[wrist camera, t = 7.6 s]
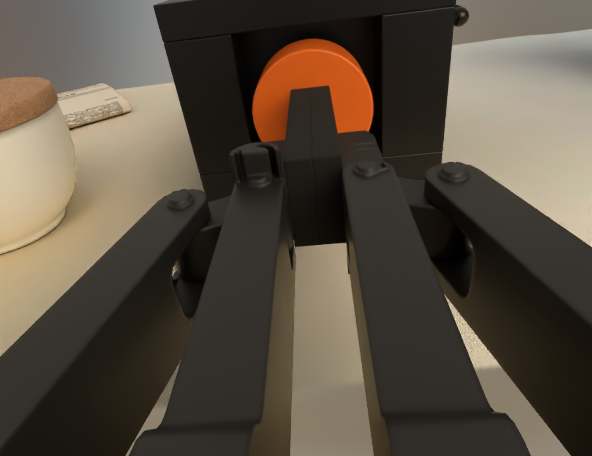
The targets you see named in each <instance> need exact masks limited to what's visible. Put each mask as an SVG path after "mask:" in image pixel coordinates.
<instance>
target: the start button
mask: <svg viewBox="0 0 592 456" xmlns="http://www.w3.org/2000/svg"><path fill="white" fill-rule="evenodd" d="M327 85H329V87H330V92H331V98H332V104H333V109H334V115H335V121H336V126H337V132H338V133H344V132H354V131H363V130H366V131H369V129H370V126H371V123H372V118H373V108H374V106H373V97H372V92H371V89H370V86H369V84H368V82H367V79H366V77H365V75H364V73H363V71H362V69H361V67H360V65H359V64H358V62H357V61H356V59H355V58H354V57H353V56H352V55H351V54H350V53H349V52H348V51H347V50H345V49H344V48H343V47H341V46H339V45H338V44H336V43H333V42H331V41H327V40H323V39H304V40H299V41H296V42H293V43H291V44H289V45H287V46H285V47H283V48H282V49H281V50H279V51H278V52H277V53H276V54H275V55H274V56H273V57H272V58H271V59H270V60H269V62H268V63H267V65H266V66H265V68H264V70H263V72H262V74H261V77H260V80H259V82H258V85H257V87H256V90H255V94H254V98H253V104H252V114H253V121H254V125H255V129H256V131H257V134H258V136H259V137H260V139H261V141H262V142H269V141H279V140H285V136H286V127H287V118H288V109H289V100H290V91H291V90H293V89H301V88H310V87H319V86H327Z"/></svg>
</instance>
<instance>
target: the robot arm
mask: <svg viewBox="0 0 592 456" xmlns="http://www.w3.org/2000/svg"><path fill="white" fill-rule="evenodd" d="M229 159H230V164H231V168H232V172H233V177H234V181H235V185H234V188H233V192H232V195H230V196H228V197H225V198H222V199H218V200H214V201H211V202H208V201H207V198H206V195H205V193H204V192H202V191H200V190H194V189H190V190H186V189H183V190H179V191H174V192H172V193H171V194H169V195H167V196H165V197H163V198H162V199H161V200H159V201H158V202H157V203H156V204H155V205H154V206H153V207H152V208H151V209H150V210H149V211H148V212H147V213H146V214H145V215H144V216H143V217H142V218H141V219H140V220H139V221H138V222H137V223H136V224H135V225H134V226H133V227H132V228H131V229H130V230H129V231H128V232H127V233H126V234H124V235H123V236H122V237H121V238H120V239H119V240H118V241H117V242H116V243H115V244H114V245H113V246H112V247H111V248H110V249H109V250H108V251H107V252H106V253H105V254H104V255H103V256H102V257H101V258H100V259H99V260H98V261H97V262H96V263H95V264H94V265H93V266H92V267H91V268H90V269H89V270H88V271H87V272H86V273H85V274H84V275H83V276H82V277H81V278H80V279H79V280H78V281H77V282H76V283H75V284H74V285H73V286H72V287H71V288H70V289H69V290H68V291H67V292H66V293H65V294H64V295H63V296H62V297H61V298H59V299H58V300H57V301H56V302H55V303H54V304H53V305H52V306H51V307H50V308H49V309H48V310H47V311H46V312H45V313H44V314H43V315H42V316H41V317H40V318H39V319H38V320H37V321H36V322H35V323H34V324H33V325H32V326H31V327H30V328H29V329H28V330H27V331H26V332H25V333H24V334H23V335H22V336H21V337H20V338H19V339H18V340H17V341H16V342H15V343H14V344H13V345H12V346H11V347H10V348H9V349H8V350H7V351H6V352H5V353H4V354H3V355H2V356H1V357H0V456H125V455H126V454H127V452H128V450H129V448H130V447H131V445H132V443H133V442H134V440H135V438H136V436H137V435H138V433H139V431H140V429H141V428H142V426H143V424H144V422H145V421H146V419H147V417H148V416H149V414H150V412H151V411H152V409H153V407H154V405H155V404H156V402H157V400H158V399H159V397H160V395H161V393H162V392H163V390H164V388H165V386H166V385H167V383H168V381H169V380H170V378H171V376H172V374H173V373H174V371H175V369H176V368H177V366H178V364H179V362H180V361H181V363H180V366H179V370H178V373H177V376H176V379H175V383H174V386H173V389H172V393H171V396H170V399H169V403H168V406H167V409H166V413H165V415H164V418H163V420H162V423H161V424H160V425H159V427H158V428H156V429H152V430H146V431H144V432H143V433H142V434H141V435H140V436H139V438H138V439H137V440H136V441H135V444H134V446H133V448H132V450H131V452H130V454H129V456H290V434H291V433H290V432H291V431H290V430H291V399H292V366H293V332H294V298H295V264H296V256H295V249H294V241H295V247H299V246H311V245H323V244H335V243H346V244H347V261H348V274H350V279H351V286H352V294H353V302H354V309H355V317H356V324H357V332H358V339H359V347H360V354H361V362H362V369H363V377H364V384H365V392H366V399H367V407H368V414H369V422H370V429H371V436H372V445H373V452H374V456H531V455H530V453H529V451H528V448H527V447H526V444H525V442H524V440H523V438H522V436H521V434H520V432H519V430H518V429H517V427H516V425H515V423H514V422H513V421H512V420H511V419H510V418H509V416H508V415H507V414H506V413H499V412H494V410H493V409H492V408H491V407H490V405H489V403H488V401H487V399H486V397H485V394H484V392H483V390H482V387H481V385H480V382H479V379H478V377H477V375H476V372H475V369H474V367H473V364H472V362H471V359H470V357H469V354H468V352H467V350H466V347H465V345H464V342H463V340H462V337H461V335H460V332H459V330H458V327H457V325H456V322H455V320H454V317H453V315H452V312H451V310H450V307H449V305H448V302H447V300H446V297H447V298H448V299H449V301H450V302H451V303H452V304H453V306H454V307H455V308H456V309H457V311H458V312H459V313H460V315H461V316H462V317H463V318H464V320H465V321H466V322H467V324H468V325H469V326H470V327H471V329H472V330H473V331H474V332H475V334H476V335H477V336H478V338H479V339H480V340H481V341H482V343H483V344H484V345H485V346H486V348H487V349H488V350H489V352H490V353H491V354H492V355H493V357H494V358H495V359H496V361H497V362H498V363H499V364H500V366H501V367H502V368H503V369H504V371H505V372H506V373H507V375H508V376H509V377H510V378H511V380H512V381H513V382H514V383H515V385H516V386H517V387H518V388H519V390H520V391H521V392H522V394H523V395H524V396H525V398H526V399H527V400H528V401H529V403H530V404H531V405H532V406H533V408H534V409H535V410H536V412H537V413H538V414H539V415H540V417H541V418H542V419H543V420H544V422H545V423H546V424H547V425H548V427H549V428H550V429H551V431H552V432H553V433H554V435H555V436H556V437H557V438H558V440H559V441H560V442H561V443H562V445H563V446H564V447H565V449H566V450H567V451H568V452H569V454H570V455H571V456H592V247H591V246H589V245H588V244H586V243H585V242H583V241H582V240H581V239H579V238H578V237H576V236H575V235H573V234H572V233H570V232H569V231H568V230H566V229H565V228H563V227H562V226H560V225H559V224H557V223H556V222H554V221H553V220H552V219H550V218H549V217H547V216H546V215H544V214H543V213H541V212H540V211H539V210H537V209H536V208H534V207H533V206H531V205H530V204H528V203H527V202H526V201H524V200H523V199H521V198H520V197H518V196H517V195H515V194H514V193H513V192H511V191H510V190H508V189H507V188H505V187H504V186H502V185H501V184H499V183H498V182H497V181H495V180H494V179H492V178H491V177H489V176H488V175H486V174H485V173H484V172H482V171H481V170H479V169H477V168H475V167H473V166H471V165H466V164H463V163H460V162H455V163H454V162H448V163H444V164H438V165H435V166H432V167H431V168H429V169H428V170H427V171H426V174H425V180H414V179H405V178H401V177H398V176H397V175H396V173H395V170H394V168H393V167H392V166H391V165H390V164H389V163H387V162H385V161H384V160H383V158H382V155H381V152H380V150H379V147H378V144H377V142H376V139H375V136H374V135H373V134H371V133H369V132H368V131H366V130H363V131H354V132H344V133H338V132H337V126H336V121H335V115H334V109H333V104H332V98H331V92H330V87H329V85H327V86H319V87H310V88H301V89H293V90H291V91H290V100H289V109H288V118H287V127H286V136H285V140H279V141H269V142H255V143H250V144H245V145H243V146H240V147H237V148H236V149H234V150H232V151H231V152H230V154H229ZM174 265H175V267H176V270H177V271H176V272H175V274H174V275H173V276H172V269H173V267H174ZM171 276H172V277H171ZM444 294H445V295H446V297H445V295H444ZM181 359H182V360H181Z"/></svg>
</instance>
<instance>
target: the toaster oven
mask: <svg viewBox="0 0 592 456" xmlns="http://www.w3.org/2000/svg"><path fill="white" fill-rule="evenodd" d="M154 11H155V14H156V18H157V21H158V25H159V29H160V32H161V36H162V40H163V42H164V46H165V50H166V54H167V57H168V61H169V65H170V68H171V72H172V75H173V79H174V83H175V86H176V90H177V94H178V97H179V101H180V105H181V108H182V112H183V115H184V119H185V123H186V126H187V130H188V134H189V137H190V141H191V145H192V148H193V152H194V155H195V159H196V163H197V166H198V170H199V173H200V177H201V181H202V185H203V188H204V192H205V195H206V198H207V201H208V202H211V201H214V200H218V199H222V198H225V197H228V196H230V195H232V192H233V188H234V185H235V181H234V177H233V172H232V168H231V164H230V159H229V154H230V152H231V151H232V150H234V149H236V148H237V147H240V146H243V145H245V144H250V143H255V142H262V141H261V139H260V137H259V136H258V134H257V131H256V129H255V125H254V121H253V114H252V104H253V98H254V94H255V90H256V87H257V85H258V82H259V80H260V77H261V74H262V72H263V70H264V68H265V66H266V65H267V63H268V62H269V60H270V59H271V58H272V57H273V56H274V55H275V54H276V53H277V52H278V51H279V50H281V49H282V48H283V47H285V46H287V45H289V44H291V43H293V42H296V41H299V40H304V39H323V40H327V41H331V42H333V43H336V44H338V45H339V46H341V47H343V48H344V49H345V50H347V51H348V52H349V53H350V54H351V55H352V56H353V57H354V58H355V59H356V61H357V62H358V64H359V65H360V67H361V69H362V71H363V73H364V75H365V77H366V79H367V82H368V84H369V86H370V89H371V92H372V97H373V106H374V108H373V118H372V123H371V126H370V129H369V131H368V132H369V133H371V134H373V135H374V136H375V139H376V142H377V144H378V147H379V150H380V152H381V155H382V158H383V160H384V161H385V162H387V163H389V164H390V165H391V166H392V167H393V168H394V170H395V173H396V175H397V176H398V177H401V178H405V179H414V180H425V174H426V171H427V170H428V169H429V168H431V167H432V166H435V165H438V164H441V163H442V150H443V141H444V129H445V118H446V107H447V95H448V84H449V73H450V62H451V50H452V38H453V27H454V26H455V27H461V26H463V25H464V24H465V23H466V22H467V21H468V18H469V12H468V10H467V9H466V8H464V7H462V6H458V5H456V0H168V1H165V2H162V3H159V4H156V5H154Z"/></svg>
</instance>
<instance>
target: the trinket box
mask: <svg viewBox="0 0 592 456" xmlns="http://www.w3.org/2000/svg"><path fill="white" fill-rule="evenodd" d="M57 101H58V96H57V94H56V91H55V89H54V87H53V85H52V83H51V82H50V81H49V80H47V79H43V78H38V77H17V78H5V79H0V254H2V253H6V252H9V251H12V250H15V249H18V248H20V247H23V246H25V245H27V244H29V243H31V242H33V241H35V240H37V239H39V238H41V237H43V236H44V235H46V234H47V233H49V232H50V231H52V230H53V229H54V228H55V227H56V226H57V225H58V224H59V223H60V222H61V221H62V220H63V218H64V216H65V214H66V210H65V207H66V205H67V204H68V202H69V200H70V198H71V196H72V193H73V191H74V188H75V183H76V178H77V159H76V153H75V148H74V144H73V140H72V137H71V133H70V130H69V128H68V125H67V123H66V120H65V117H64V115H63V113H62V111H61V108H60V106H59V104H58V102H57Z"/></svg>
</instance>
